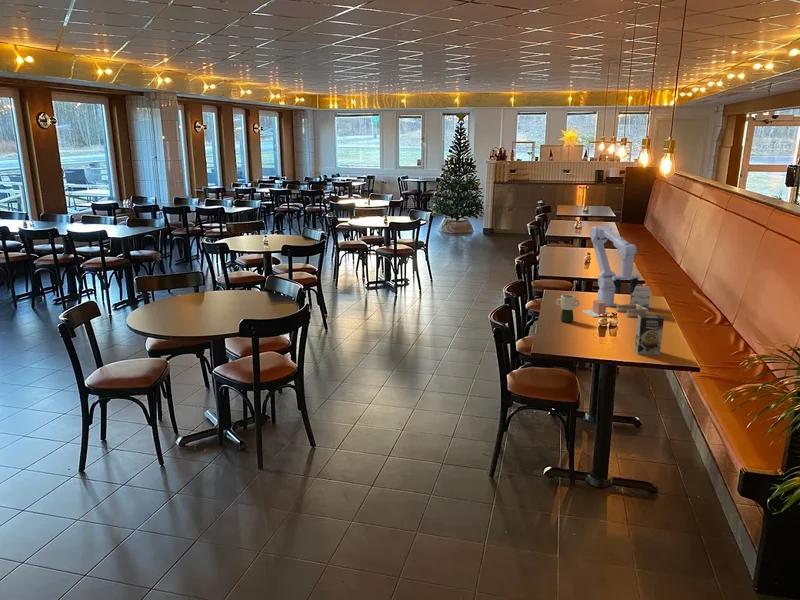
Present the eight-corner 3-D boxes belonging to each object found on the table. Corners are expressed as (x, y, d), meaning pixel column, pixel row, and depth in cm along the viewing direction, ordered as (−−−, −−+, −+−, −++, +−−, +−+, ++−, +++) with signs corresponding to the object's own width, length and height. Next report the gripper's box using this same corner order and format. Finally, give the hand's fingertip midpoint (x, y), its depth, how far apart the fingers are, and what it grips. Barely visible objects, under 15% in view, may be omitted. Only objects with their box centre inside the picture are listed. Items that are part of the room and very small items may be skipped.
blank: (592, 311, 315) (593, 300, 313) (599, 311, 315) (600, 300, 314) (598, 314, 309) (598, 303, 308) (605, 314, 310) (606, 302, 308)
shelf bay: (616, 311, 317) (616, 304, 316) (635, 310, 319) (636, 303, 318) (627, 317, 306) (628, 310, 305) (647, 315, 308) (648, 309, 307)
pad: (582, 311, 318) (582, 310, 317) (603, 310, 319) (603, 309, 319) (593, 317, 306) (593, 316, 306) (614, 316, 308) (615, 315, 308)
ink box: (645, 306, 326) (647, 285, 323) (648, 309, 321) (650, 287, 318) (629, 306, 326) (631, 285, 323) (632, 309, 322) (634, 287, 319)
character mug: (578, 320, 301) (580, 295, 298) (577, 324, 295) (579, 298, 292) (556, 318, 305) (557, 293, 302) (555, 322, 298) (556, 296, 295)
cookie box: (637, 354, 251) (640, 317, 247) (634, 349, 257) (637, 313, 253) (660, 355, 249) (664, 318, 245) (656, 350, 255) (660, 314, 251)
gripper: (617, 269, 306) (615, 295, 310) (644, 268, 308) (641, 294, 312) (610, 267, 313) (608, 292, 316) (636, 266, 315) (634, 291, 318)
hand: (624, 293), depth 314 cm, fingers open, 7 cm apart
